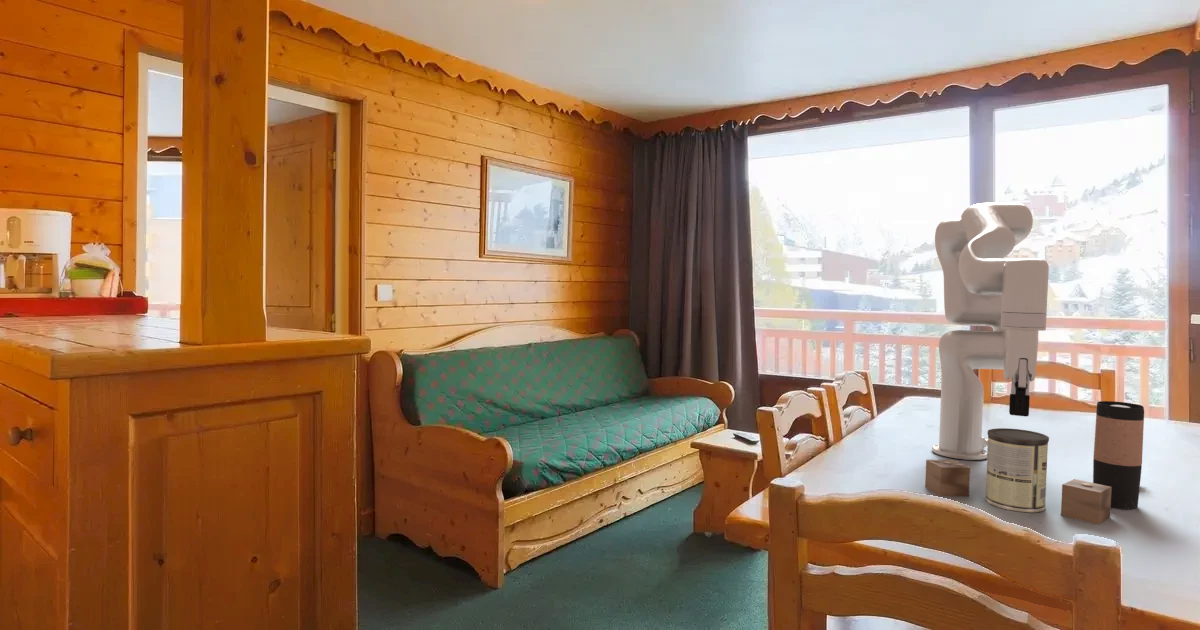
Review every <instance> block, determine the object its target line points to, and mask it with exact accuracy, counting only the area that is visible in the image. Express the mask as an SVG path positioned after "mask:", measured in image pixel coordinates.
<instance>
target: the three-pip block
mask: <svg viewBox="0 0 1200 630" xmlns="http://www.w3.org/2000/svg"><path fill="white" fill-rule="evenodd" d="M970 475H971V467H970V466H967V464H964V463H962V462H959V461H957V459H926V460H925V477H924V479H925V481H924V482H925V483H924V485H925V486H924V487H925V488H926V489H928V490H929V491H931V492H933V493H934V494H936V495H938V496H939V497H970V481H971V480H970V477H971V476H970Z"/></svg>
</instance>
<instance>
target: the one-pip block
mask: <svg viewBox="0 0 1200 630" xmlns="http://www.w3.org/2000/svg"><path fill="white" fill-rule="evenodd" d="M1111 490H1112V487H1110V486H1105V485H1100V484H1096V483H1093V482H1090V481H1085V480H1080V479H1077V478H1074V479H1071V480H1069V481H1066V482H1064V483H1063V484H1062V485H1061V500H1060V501H1061V503H1060V505H1061V506H1060V516H1064V517H1067V518H1069V519H1076V520H1078V521H1083V522H1087V523H1091V524H1095V525H1098V526H1099V525H1100V524H1102V523H1104V522H1106V521H1107V520H1109V519H1111V509H1112V508H1111Z"/></svg>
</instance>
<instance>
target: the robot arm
mask: <svg viewBox="0 0 1200 630" xmlns="http://www.w3.org/2000/svg"><path fill="white" fill-rule="evenodd" d="M1033 221H1034V220H1033V214H1032V212H1031V209H1030V208H1029V207H1028V206H1027V205H1025V204H1023V203H1021V202H982V203H976V204H973V205H970V206H968V207H967V208H966V209H965V210H964V211H962V213H961V216H960V217H956V218H948V219H945V220H943V221H941V222H940V223H939V224H937V226H936V229H935V233H934V246H935V252H936V254H937V259H938V260H939V263H940V266H941V268H942V273H943V274H942V275H943V301H944V302H943V306H944V315H945V319H946V320H947V321H948V323H950V324H952V325H956V326H957V325H958V326H971V327H972V326H976V327H991V328H992V330H993V331H992V330H971V329H969V330H968V329H965V330H964V329H955V330H950V331H947V332H945V333H944V334H943V335H941V336H940V339H939V342H938V352H939V359H940V370H941V372H940V373H941V375H940V376H941V378H940V379H941V380H940V381H941V383H940V385H941V386H940V388H941V389H940V413H939V435H938V436H939V437H938V443H936V444H933V445H932V446H931V451H932V452H933V453H934V454H936V455H939V456H942V457H945V458H946V457H947V458H951V459H955V460H957V459H958V460H967V461H969V460H970V461H980V460H981V461H982V460H985V459H986V460H987V450H985V448H986V447H988V438H985V437H984V436H983V415H984V414H983V412H984V411H983V410H984V392H985V391H984V385H983V382H982V381H981V379H980V378H979V377H978V375H976V373H975V372H974V370H979V369H980V370H982V369H983V370H1003V371H1002V372H1003V373H1002V376H1003V378H1004V379H1005V380H1006V381H1010V379H1011V384H1010V385H1011V388H1010V389H1011V391H1010V393H1009V405H1008V407H1009V408H1008V411H1009V413H1008V414H1009V415H1011V416H1016V417H1017V416H1018V417H1029V415H1030V399H1031V398H1030V393H1029V392H1030V383H1031V382H1034V381H1035V379H1036V373H1037V371H1036V370H1037V363H1038V349H1039V348H1038V347H1039V346H1038V345H1039V331H1040V332H1042V331H1043V332H1044V331H1046V330H1047V315H1048V314H1047V311H1048V310H1047V309H1048V293H1049V292H1048V291H1049V274H1050V273H1049V271H1050V268H1049V262H1047V260H1045V259H1042V258H1006V257H1007V256H1008V255H1010V254H1011V252H1012V251H1013V250H1014V248H1015V247H1016V246H1017V245H1019V243H1021V242H1023V241H1024V240H1025V239H1026V238H1027V237H1028V236H1029V235H1030V233H1031V230H1032V228H1033Z"/></svg>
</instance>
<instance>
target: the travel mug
mask: <svg viewBox="0 0 1200 630" xmlns="http://www.w3.org/2000/svg"><path fill="white" fill-rule="evenodd" d="M1144 424H1145V407H1144V405H1141V404H1138V403H1137V404H1136V403H1131V402H1125V401H1124V402H1123V401H1115V400H1114V401H1112V400H1101V401H1097V402H1096V415H1095V429H1094V445H1093V462H1092V464H1093V466H1092V483H1096V484H1100V485H1105V486H1110V487H1112V490H1111V509H1117V510H1124V511H1128V510H1131V511H1132V510H1136V509H1138V507H1139V506H1138V505H1139V497H1140V489H1141V485H1140V484H1141V479H1142V477H1141V476H1142V465H1143V449H1144V448H1143V446H1144V430H1145V429H1144Z"/></svg>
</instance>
